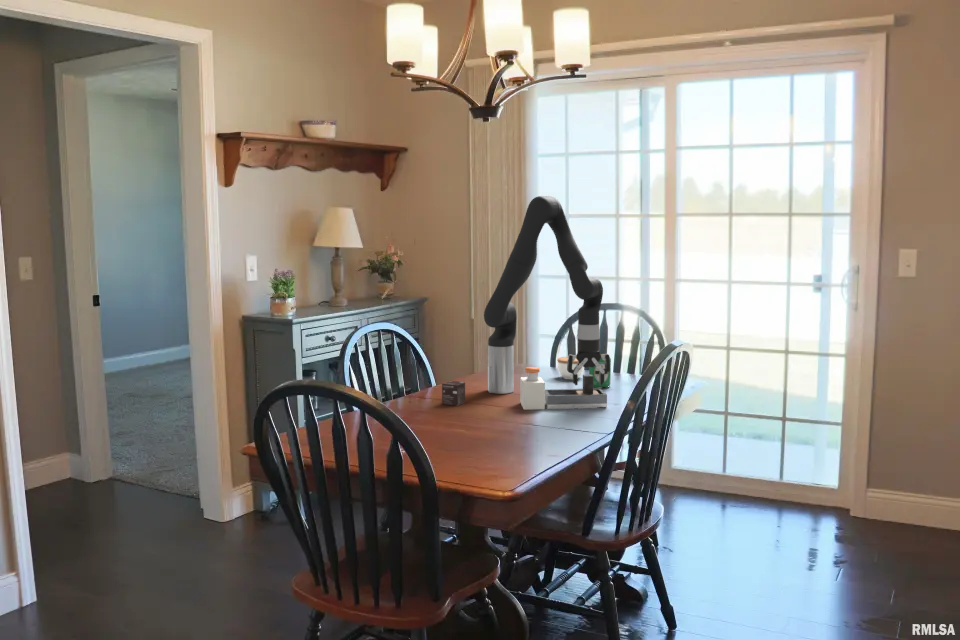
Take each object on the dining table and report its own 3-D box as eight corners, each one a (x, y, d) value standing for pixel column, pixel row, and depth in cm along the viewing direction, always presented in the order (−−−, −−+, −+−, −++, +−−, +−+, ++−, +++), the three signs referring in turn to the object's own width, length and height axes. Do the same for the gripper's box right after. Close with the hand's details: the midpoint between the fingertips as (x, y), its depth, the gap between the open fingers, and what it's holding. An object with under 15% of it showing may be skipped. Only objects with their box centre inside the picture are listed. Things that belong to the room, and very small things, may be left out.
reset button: (526, 383, 276) (526, 369, 275) (524, 380, 281) (524, 367, 280) (540, 383, 276) (540, 369, 276) (538, 380, 281) (538, 366, 280)
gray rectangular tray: (547, 409, 275) (547, 395, 274) (543, 402, 285) (543, 389, 284) (606, 407, 276) (607, 394, 276) (600, 401, 286) (600, 388, 286)
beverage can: (590, 388, 307) (591, 356, 306) (587, 384, 315) (587, 353, 313) (612, 388, 307) (612, 356, 306) (608, 384, 315) (608, 353, 314)
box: (441, 404, 283) (441, 383, 282) (450, 401, 288) (450, 380, 287) (457, 406, 280) (456, 385, 279) (465, 402, 285) (465, 381, 284)
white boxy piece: (523, 409, 274) (523, 383, 273) (520, 402, 284) (520, 377, 283) (544, 409, 275) (544, 382, 274) (540, 402, 285) (540, 376, 284)
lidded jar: (554, 375, 332) (554, 353, 331) (579, 374, 334) (580, 352, 332) (561, 381, 321) (561, 357, 320) (587, 380, 323) (588, 356, 322)
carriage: (579, 402, 277) (579, 377, 276) (575, 397, 284) (575, 373, 283) (600, 401, 277) (600, 377, 276) (595, 397, 284) (596, 373, 283)
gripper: (569, 339, 274) (569, 387, 276) (611, 338, 275) (611, 386, 276) (565, 336, 281) (565, 383, 283) (607, 335, 282) (606, 382, 284)
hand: (588, 384), depth 280 cm, fingers open, 8 cm apart
